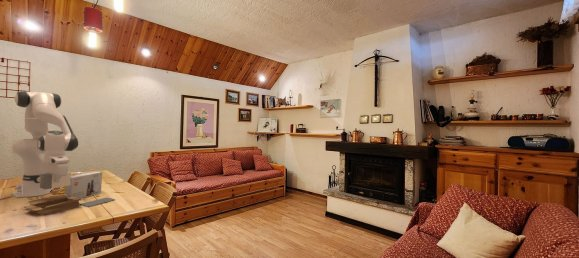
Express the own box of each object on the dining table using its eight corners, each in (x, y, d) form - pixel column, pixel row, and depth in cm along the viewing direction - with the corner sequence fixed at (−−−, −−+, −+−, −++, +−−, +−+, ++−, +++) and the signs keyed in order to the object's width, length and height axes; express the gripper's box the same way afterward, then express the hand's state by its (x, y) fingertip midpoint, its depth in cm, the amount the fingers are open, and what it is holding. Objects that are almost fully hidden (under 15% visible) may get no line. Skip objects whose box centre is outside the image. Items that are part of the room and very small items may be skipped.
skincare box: (71, 201, 160) (71, 177, 159) (64, 201, 161) (65, 176, 160) (102, 193, 180) (102, 171, 180) (95, 192, 181) (96, 171, 181)
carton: (20, 212, 140) (21, 202, 140) (69, 200, 161) (69, 192, 161) (38, 218, 133) (39, 208, 133) (87, 205, 154) (87, 197, 154)
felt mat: (79, 204, 155) (79, 204, 155) (106, 198, 169) (106, 197, 169) (88, 207, 151) (88, 206, 151) (115, 200, 166) (115, 199, 166)
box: (39, 188, 142) (40, 174, 142) (65, 183, 153) (65, 170, 153) (44, 189, 140) (45, 175, 140) (70, 185, 151) (70, 172, 151)
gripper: (37, 157, 146) (37, 180, 147) (57, 161, 139) (56, 185, 139) (51, 155, 152) (50, 178, 153) (71, 159, 145) (70, 183, 145)
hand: (53, 181), depth 146 cm, fingers closed on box, 5 cm apart
